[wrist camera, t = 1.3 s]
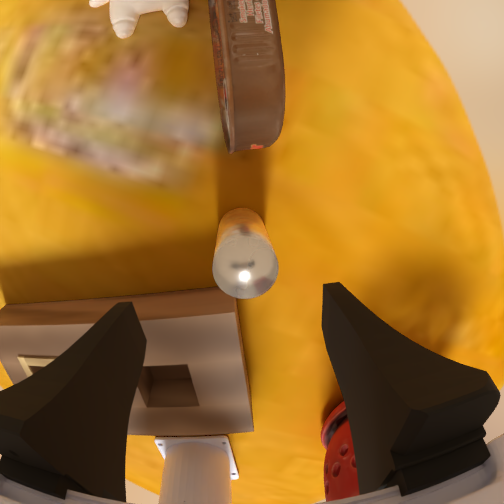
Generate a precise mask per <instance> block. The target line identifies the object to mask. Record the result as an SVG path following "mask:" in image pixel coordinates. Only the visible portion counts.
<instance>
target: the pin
mask: <svg viewBox="0 0 504 504" xmlns="http://www.w3.org/2000/svg"><path fill="white" fill-rule="evenodd" d="M212 271H213V276H214V279H215V282H216V283H217V285H218V286H219V288H220V289H221V290H222V291H224V292H225V293H226V294H228V295H230V296H232V297H236V298H240V299H249V298H254V297H257V296H260V295H262V294H263V293H265V292H266V291H268V290H269V289H270V288H271V286H272V285H273V284H274V282H275V280H276V278H277V275H278V261H277V258H276V255H275V252H274V250H273V247H272V244H271V242H270V239H269V236H268V234H267V231H266V228H265V226H264V223H263V221H262V219H261V217H260V216H259V215H258V214H257V213H256V212H254V211H253V210H251V209H247V208H236V209H233V210H231V211H229V212H227V213H226V214H225V215H224V216H223V217H222V219H221V221H220V223H219V227H218V233H217V240H216V246H215V253H214V259H213V267H212Z"/></svg>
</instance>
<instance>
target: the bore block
mask: <svg viewBox="0 0 504 504" xmlns="http://www.w3.org/2000/svg"><path fill="white" fill-rule="evenodd" d="M131 301H132V303H133V306H134V308H135V311H136V314H137V316H138V319H139V321H140V324H141V327H142V329H143V332H144V334H145V337H146V339H147V344H146V352H145V359H144V364H143V368H142V371H141V375H140V379H139V382H138V386H137V389H136V393H135V396H134V400H133V404H132V408H131V412H130V417H129V424H128V432H127V435H151V436H189V435H214V434H230V433H242V432H252V431H254V426H253V414H252V402H251V395H250V388H249V382H248V376H247V369H246V363H245V356H244V349H243V343H242V336H241V329H240V322H239V315H238V309H237V302H236V297H232V296H230V295H228V294H226V293H225V292H224V291H222V290H221V289H220V288H219V287H210V288H201V289H191V290H182V291H172V292H162V293H152V294H141V295H130V296H119V297H107V298H95V299H83V300H70V301H56V302H42V303H26V304H10V305H5V306H4V307H3V308H2V309H1V310H0V361H1V363H2V364H3V366H4V368H5V370H6V372H7V374H8V375H9V377H10V379H11V381H12V382H13V384H14V385H15V384H17V383H19V382H20V381H22V380H24V379H26V378H28V377H29V376H31V375H32V374H34V373H35V372H37V371H39V370H40V369H42V368H43V367H45V366H46V365H48V364H49V363H50V362H52V361H53V360H54V359H56V358H57V357H58V356H60V355H61V354H62V353H63V352H65V351H66V350H67V349H68V348H69V347H70V346H71V345H73V344H74V343H75V342H76V341H77V340H78V339H79V338H80V337H81V336H83V335H84V334H85V333H86V332H87V331H88V330H89V329H90V328H91V327H92V326H93V325H94V324H95V323H96V322H97V321H98V320H99V319H100V318H101V317H102V316H103V315H104V314H106V313H107V312H108V311H109V310H110V309H111V308H112V307H113V306H114V305H116V304H117V303H118V302H131Z"/></svg>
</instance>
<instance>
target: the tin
mask: <svg viewBox="0 0 504 504" xmlns="http://www.w3.org/2000/svg"><path fill="white" fill-rule="evenodd" d="M208 5H209V14H210V25H211V34H212V44H213V54H214V63H215V73H216V82H217V90H218V99H219V106H220V114H221V121H222V127H223V132H224V138H225V142H226V146H227V149H228V153H233V152H234V151H240V150H248V149H258V148H266V147H269V146H271V145H272V144H273V143H274V142H275V141H276V140H277V138H278V137H279V135H280V133H281V129H282V125H283V119H284V111H285V72H284V61H283V52H282V45H281V37H280V30H279V22H278V16H277V9H276V3H275V0H208Z"/></svg>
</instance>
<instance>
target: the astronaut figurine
mask: <svg viewBox="0 0 504 504" xmlns="http://www.w3.org/2000/svg"><path fill="white" fill-rule="evenodd" d="M109 1H110V20H111V23H112V24H113V29H114V31H115V33H116V35H117V36H118V37H119V38H127V37H129V36H131V35H132V34H133V33H134V30H135V28H136V25H137V22H138V19H139V16H140V15H141V14H144V13H148V12H154V11H161V10H162V11H163V12H164V13H165V14H166V15H167V18H168V20H169V22H170V23H171V24H172V25H173V26H175V27H183V26H184V25H185V24H186V22H187V18H188V10H189V0H90V1H89V5H90V6H91V7H99V6H101V5H103V4H105V3H107V2H109Z"/></svg>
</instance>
